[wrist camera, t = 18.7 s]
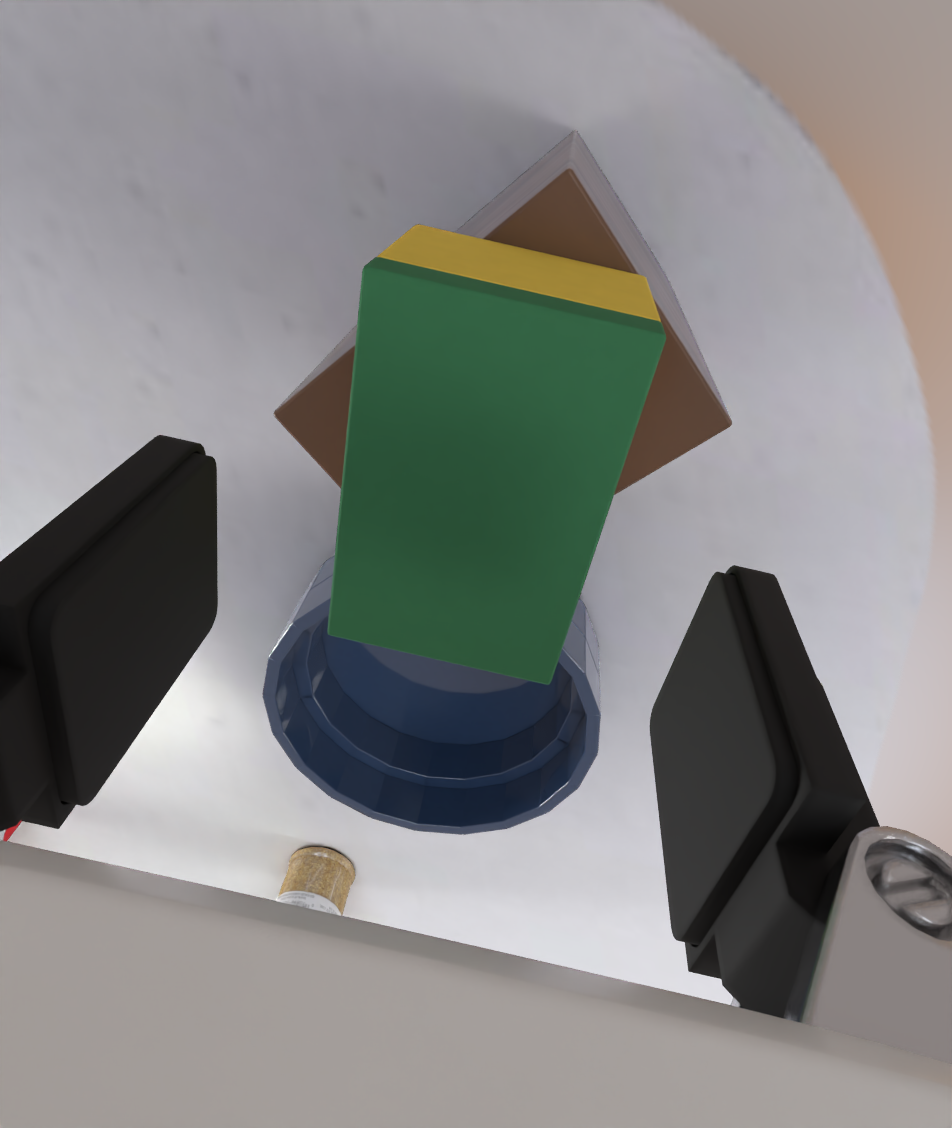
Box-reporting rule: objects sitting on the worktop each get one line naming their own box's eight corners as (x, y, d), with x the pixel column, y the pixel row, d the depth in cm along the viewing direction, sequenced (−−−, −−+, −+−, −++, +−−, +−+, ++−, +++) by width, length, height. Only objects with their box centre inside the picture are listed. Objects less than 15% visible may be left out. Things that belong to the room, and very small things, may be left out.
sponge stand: (575, 128, 25) (570, 165, 13) (668, 278, 27) (734, 425, 15) (400, 278, 28) (270, 414, 16) (495, 401, 30) (440, 598, 19)
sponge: (414, 222, 14) (362, 265, 11) (647, 275, 14) (667, 335, 11) (374, 532, 18) (325, 635, 14) (555, 574, 18) (550, 686, 14)
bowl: (471, 457, 32) (452, 520, 27) (655, 683, 37) (665, 766, 33) (242, 612, 38) (196, 684, 33) (429, 785, 44) (411, 867, 39)
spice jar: (295, 881, 51) (214, 1106, 39) (286, 839, 48) (197, 1067, 37) (360, 888, 50) (297, 1119, 39) (354, 846, 48) (285, 1079, 37)
